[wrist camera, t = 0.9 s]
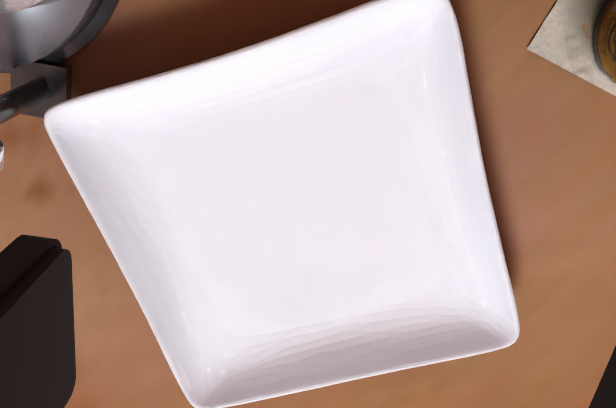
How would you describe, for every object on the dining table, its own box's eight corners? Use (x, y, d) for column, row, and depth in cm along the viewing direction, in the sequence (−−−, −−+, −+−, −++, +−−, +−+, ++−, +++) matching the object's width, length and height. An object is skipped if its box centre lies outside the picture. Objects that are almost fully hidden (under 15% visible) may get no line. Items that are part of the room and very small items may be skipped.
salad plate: (512, 314, 37) (528, 350, 33) (204, 382, 40) (192, 419, 37) (438, -30, 29) (449, -26, 25) (62, 95, 32) (31, 112, 29)
